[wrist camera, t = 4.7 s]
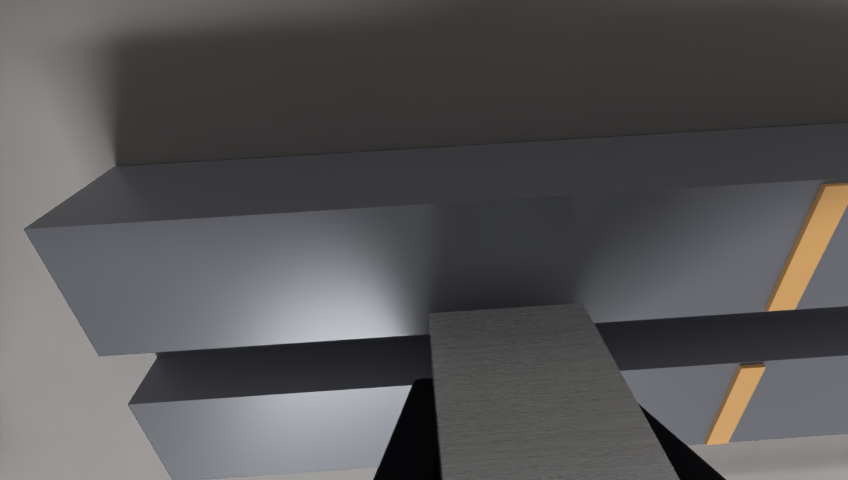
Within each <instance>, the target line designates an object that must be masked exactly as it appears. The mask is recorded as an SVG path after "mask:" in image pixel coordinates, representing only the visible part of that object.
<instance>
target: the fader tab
mask: <svg viewBox="0 0 848 480" xmlns="http://www.w3.org/2000/svg"><path fill="white" fill-rule="evenodd" d="M429 327H430V346H431V365H432V379H433V390H434V402H435V413H436V425H437V437H438V456H439V477H440V480H680V479H679V477H678V475H677V474H676V472H675V470H674V468H673V466H672V464H671V463H670V461H669V459H668V457H667V455H666V454H665V452H664V450H663V448H662V446H661V444H660V443H659V441H658V439H657V437H656V435H655V434H654V432H653V430H652V428H651V426H650V424H649V423H648V421H647V419H646V417H645V415H644V413H643V412H642V410H641V408H640V406H639V404H638V403H637V401H636V399H635V397H634V395H633V393H632V392H631V390H630V388H629V386H628V384H627V383H626V381H625V379H624V377H623V375H622V373H621V372H620V370H619V368H618V366H617V364H616V363H615V361H614V359H613V357H612V355H611V353H610V352H609V350H608V348H607V346H606V344H605V343H604V341H603V339H602V337H601V335H600V333H599V332H598V330H597V328H596V326H595V324H594V323H593V321H592V319H591V317H590V315H589V313H588V312H587V310H586V308H585V306H584V304H583V303H577V304H562V305H547V306H532V307H517V308H502V309H486V310H471V311H456V312H441V313H429Z"/></svg>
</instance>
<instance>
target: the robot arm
mask: <svg viewBox="0 0 848 480" xmlns="http://www.w3.org/2000/svg"><path fill="white" fill-rule="evenodd" d="M639 406H640V408H641V410H642V412H643V413H644V415H645V417H646V419H647V421H648V423H649V424H650V426H651V428H652V430H653V432H654V434H655V435H656V437H657V439H658V441H659V443H660V444H661V446H662V448H663V450H664V452H665V454H666V455H667V457H668V459H669V461H670V463H671V464H672V466H673V468H674V470H675V472H676V474H677V475H678V477H679V479H680V480H726V479H725V478H724V477H722V476H721V475H720V474H719V473H718V472H717V471H715V470H714V469H713V468H712V467H711V466H710V465H709V464H707V463H706V462H705V461H704V460H703V459H702V458H701V457H699V456H698V455H697V454H696V453H695V452H694V451H693V450H691V449H690V448H689V447H688V446H687V445H686V444H684V443H683V442H682V441H681V440H680V439H679V438H678V437H676V436H675V435H674V434H673V433H672V432H671V431H670V430H668V429H667V428H666V427H665V426H664V425H663V424H661V423H660V422H659V421H658V420H657V419H656V418H655V417H653V416H652V415H651V414H650V413H649V412H648V411H647V410H645V409H644V408H643V407H642V406H641V405H640V404H639ZM373 480H440V477H439V456H438V437H437V425H436V413H435V402H434V390H433V379H432V378H422V379H416V380H415V381H414V382H413V384H412V387H411V389H410V391H409V394H408V396H407V399H406V401H405V404H404V406H403V408H402V411H401V413H400V416H399V418H398V421H397V423H396V426H395V428H394V430H393V433H392V435H391V438H390V440H389V443H388V445H387V448H386V450H385V452H384V455H383V457H382V460H381V462H380V465H379V467H378V469H377V472H376V474H375V477H374V479H373Z"/></svg>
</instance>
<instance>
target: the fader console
mask: <svg viewBox="0 0 848 480" xmlns="http://www.w3.org/2000/svg"><path fill="white" fill-rule="evenodd" d="M24 230H25V232H26V234H27V236H28V237H29V239H30V241H31V242H32V244H33V246H34V247H35V249H36V251H37V252H38V254H39V256H40V257H41V259H42V261H43V263H44V264H45V266H46V268H47V269H48V271H49V273H50V274H51V276H52V278H53V279H54V281H55V283H56V284H57V286H58V288H59V290H60V291H61V293H62V295H63V296H64V298H65V300H66V301H67V303H68V305H69V306H70V308H71V310H72V311H73V313H74V315H75V317H76V318H77V320H78V322H79V323H80V325H81V327H82V328H83V330H84V332H85V333H86V335H87V337H88V338H89V340H90V342H91V344H92V345H93V347H94V349H95V350H96V352H97V354H98V355H99V356H109V355H124V354H139V353H154V352H155V354H156V356H157V359H156V360H155V362H154V364H153V365H152V367H151V368H150V370H149V372H148V373H147V375H146V376H145V378H144V380H143V381H142V383H141V384H140V386H139V387H138V389H137V391H136V392H135V394H134V395H133V397H132V399H131V400H130V402H129V403H128V406H129V408H130V409H131V411H132V413H133V414H134V416H135V418H136V419H137V421H138V423H139V424H140V426H141V428H142V430H143V431H144V433H145V435H146V436H147V438H148V440H149V441H150V443H151V445H152V446H153V448H154V450H155V451H156V453H157V455H158V457H159V458H160V460H161V462H162V463H163V465H164V467H165V468H166V470H167V472H168V473H169V475H170V477H171V478H172V480H205V479H219V478H233V477H247V476H262V475H276V474H290V473H304V472H318V471H332V470H346V469H360V468H374V467H379V465H380V462H381V460H382V457H383V455H384V452H385V450H386V448H387V445H388V443H389V440H390V438H391V435H392V433H393V430H394V428H395V426H396V423H397V421H398V418H399V416H400V413H401V411H402V408H403V406H404V404H405V401H406V399H407V396H408V394H409V391H410V389H411V387H412V384H413V382H414V381H415V380H416V379H422V378H432V365H431V346H430V327H429V313H441V312H456V311H471V310H486V309H502V308H517V307H532V306H547V305H562V304H577V303H583V304H584V306H585V308H586V310H587V312H588V313H589V315H590V317H591V319H592V321H593V323H594V324H595V326H596V328H597V330H598V332H599V333H600V335H601V337H602V339H603V341H604V343H605V344H606V346H607V348H608V350H609V352H610V353H611V355H612V357H613V359H614V361H615V363H616V364H617V366H618V368H619V370H620V372H621V373H622V375H623V377H624V379H625V381H626V383H627V384H628V386H629V388H630V390H631V392H632V393H633V395H634V397H635V399H636V401H637V403H638V404H640V405H641V406H642V407H643V408H644V409H645V410H647V411H648V412H649V413H650V414H651V415H652V416H653V417H655V418H656V419H657V420H658V421H659V422H660V423H661V424H663V425H664V426H665V427H666V428H667V429H668V430H670V431H671V432H672V433H673V434H674V435H675V436H676V437H678V438H679V439H680V440H681V441H682V442H683V443H684V444H686V445H696V444H706V445H714V444H728V442H738V441H752V440H766V439H780V438H794V437H808V436H822V435H836V434H848V123H831V124H815V125H798V126H782V127H765V128H748V129H732V130H715V131H698V132H682V133H665V134H648V135H632V136H615V137H599V138H582V139H565V140H549V141H532V142H515V143H499V144H482V145H466V146H449V147H432V148H416V149H399V150H382V151H366V152H349V153H332V154H316V155H299V156H283V157H266V158H249V159H233V160H216V161H199V162H183V163H166V164H149V165H133V166H116V167H113V168H112V169H110V170H109V171H107V172H106V173H105V174H103V175H102V176H100V177H99V178H97V179H96V180H94V181H93V182H91V183H90V184H89V185H87V186H86V187H84V188H83V189H81V190H80V191H78V192H77V193H76V194H74V195H73V196H71V197H70V198H68V199H67V200H65V201H64V202H62V203H61V204H60V205H58V206H57V207H55V208H54V209H52V210H51V211H49V212H48V213H46V214H45V215H44V216H42V217H41V218H39V219H38V220H36V221H35V222H33V223H32V224H31V225H29V226H28V227H26V228H25V229H24Z"/></svg>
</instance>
